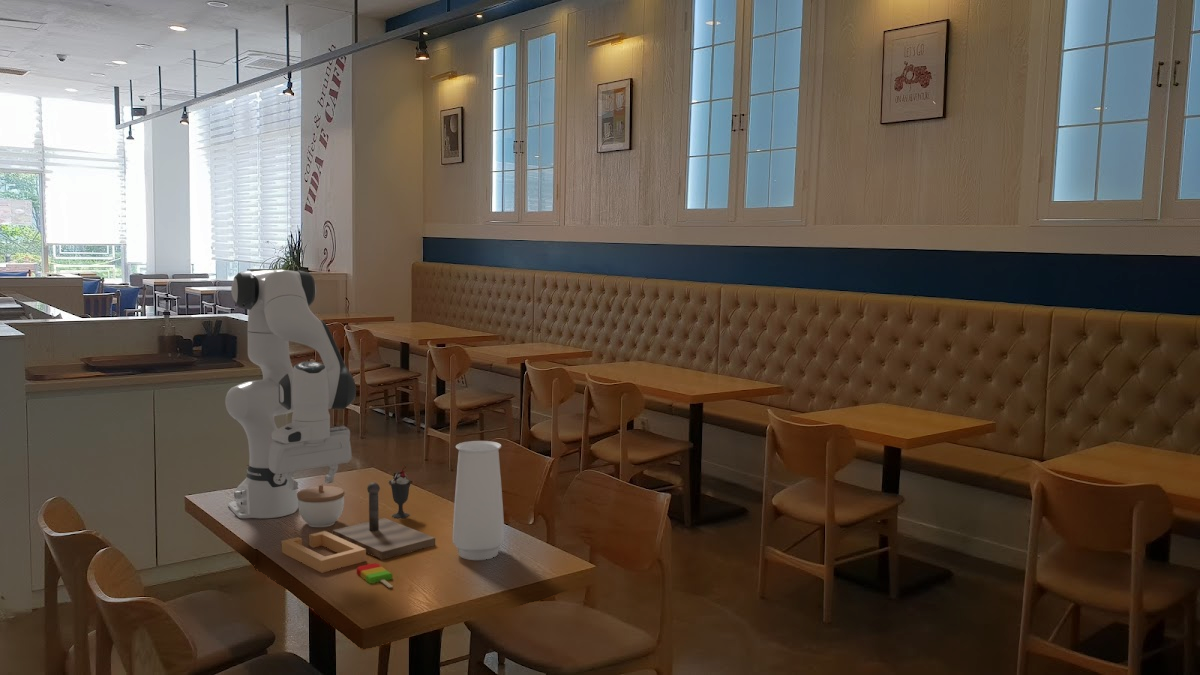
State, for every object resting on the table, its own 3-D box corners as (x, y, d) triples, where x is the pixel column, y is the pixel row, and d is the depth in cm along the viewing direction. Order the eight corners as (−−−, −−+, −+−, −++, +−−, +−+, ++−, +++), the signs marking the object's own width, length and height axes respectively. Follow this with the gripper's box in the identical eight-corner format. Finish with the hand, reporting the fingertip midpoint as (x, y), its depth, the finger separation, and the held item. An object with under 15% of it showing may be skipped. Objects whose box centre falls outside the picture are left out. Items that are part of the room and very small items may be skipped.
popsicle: (376, 569, 223) (376, 562, 223) (402, 588, 211) (402, 580, 211) (355, 574, 220) (354, 566, 220) (379, 593, 208) (379, 585, 208)
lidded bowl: (316, 533, 249) (315, 493, 247) (288, 524, 256) (287, 485, 255) (354, 522, 259) (353, 484, 257) (326, 514, 266) (325, 476, 265)
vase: (455, 564, 226) (455, 452, 223) (450, 547, 238) (449, 441, 236) (508, 560, 229) (508, 449, 227) (499, 543, 242) (500, 439, 239)
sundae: (409, 519, 262) (409, 467, 260) (386, 519, 262) (385, 467, 261) (415, 512, 269) (414, 462, 267) (392, 512, 269) (391, 462, 267)
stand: (332, 537, 245) (331, 482, 244) (384, 524, 257) (383, 472, 255) (382, 559, 229) (381, 501, 227) (435, 545, 240) (435, 489, 239)
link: (281, 552, 233) (281, 540, 233) (325, 542, 242) (325, 530, 241) (321, 572, 219) (321, 560, 219) (366, 561, 228) (365, 549, 227)
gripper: (343, 422, 232) (343, 476, 233) (265, 433, 217) (265, 490, 219) (356, 426, 227) (356, 481, 229) (277, 437, 213) (278, 496, 214)
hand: (311, 485), depth 224 cm, fingers open, 8 cm apart
